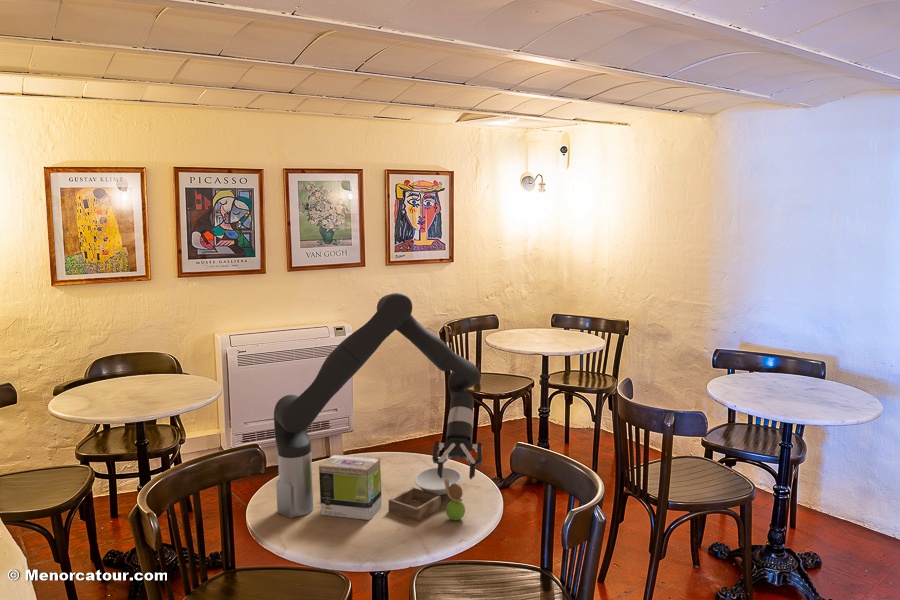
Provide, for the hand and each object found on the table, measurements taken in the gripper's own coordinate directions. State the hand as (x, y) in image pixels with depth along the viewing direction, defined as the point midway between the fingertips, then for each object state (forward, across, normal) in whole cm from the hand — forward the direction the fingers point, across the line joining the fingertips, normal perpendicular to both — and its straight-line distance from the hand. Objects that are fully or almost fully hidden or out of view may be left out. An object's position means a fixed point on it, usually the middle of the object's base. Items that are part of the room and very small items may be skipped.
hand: (455, 477), depth 179 cm
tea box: (+9, -30, +6) cm, 32 cm away
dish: (-1, -7, +16) cm, 17 cm away
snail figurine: (+10, 0, +4) cm, 11 cm away
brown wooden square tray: (+7, -12, +7) cm, 16 cm away
